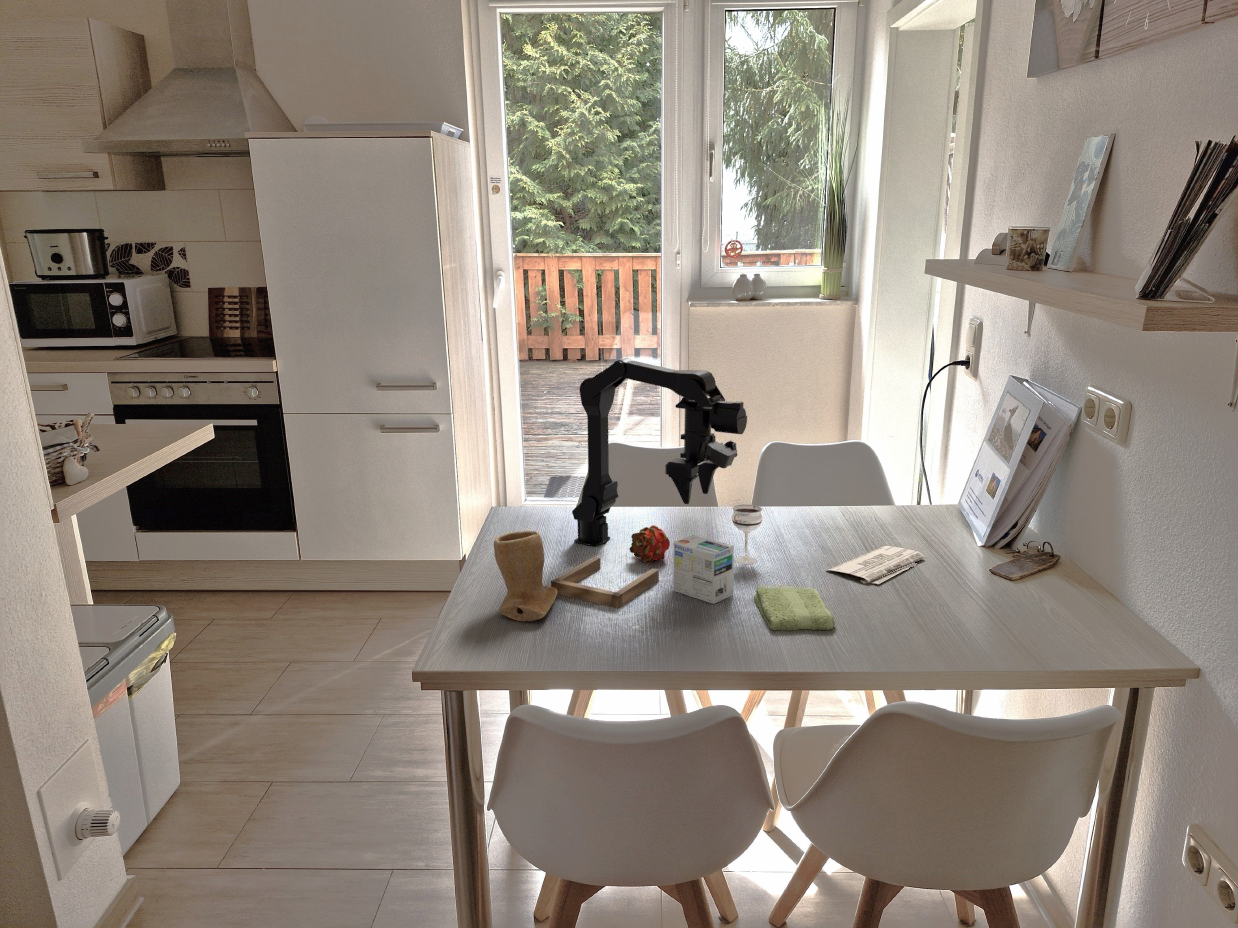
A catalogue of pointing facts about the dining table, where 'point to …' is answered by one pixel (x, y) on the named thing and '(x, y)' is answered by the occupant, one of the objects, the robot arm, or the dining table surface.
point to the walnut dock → (570, 588)
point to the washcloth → (793, 608)
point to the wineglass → (746, 525)
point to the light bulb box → (703, 568)
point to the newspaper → (879, 563)
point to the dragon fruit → (650, 544)
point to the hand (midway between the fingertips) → (696, 498)
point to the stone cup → (523, 576)
